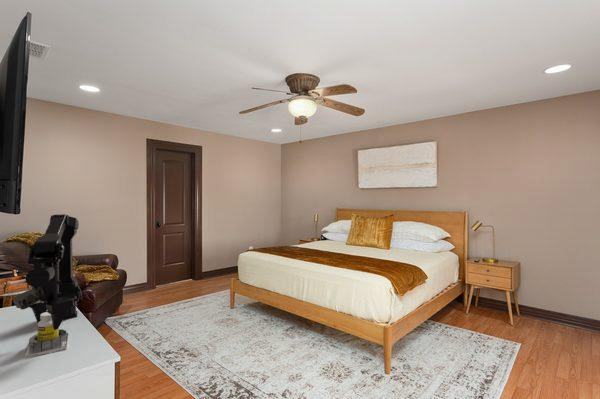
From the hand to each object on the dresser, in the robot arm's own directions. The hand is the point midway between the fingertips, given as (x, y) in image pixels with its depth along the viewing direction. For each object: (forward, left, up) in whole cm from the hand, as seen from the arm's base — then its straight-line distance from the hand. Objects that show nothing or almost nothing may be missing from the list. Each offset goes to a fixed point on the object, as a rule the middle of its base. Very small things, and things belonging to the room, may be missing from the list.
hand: (48, 326), depth 104 cm
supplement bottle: (0, 0, -6) cm, 6 cm away
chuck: (0, 0, -6) cm, 6 cm away
